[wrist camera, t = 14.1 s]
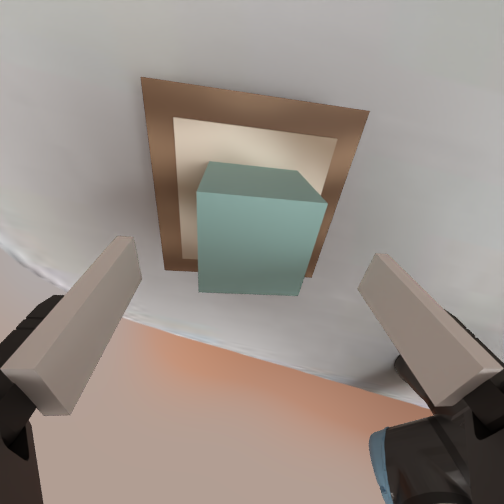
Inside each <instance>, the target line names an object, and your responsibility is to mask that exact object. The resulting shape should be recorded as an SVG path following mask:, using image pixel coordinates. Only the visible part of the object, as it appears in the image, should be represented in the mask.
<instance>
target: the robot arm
mask: <svg viewBox="0 0 504 504" xmlns="http://www.w3.org/2000/svg"><path fill="white" fill-rule="evenodd" d="M141 280H142V277H141V272H140V267H139V262H138V257H137V252H136V247H135V242H134V237H124V236H117V237H116V238H115V239H114V240H113V241H112V243H111V244H110V245H109V246H108V247H107V248H106V249H105V250H104V252H103V253H102V254H101V255H100V256H99V257H98V258H97V260H96V261H95V262H94V263H93V264H92V265H91V266H90V267H89V269H88V270H87V271H86V272H85V273H84V274H83V275H82V277H81V278H80V279H79V280H78V281H77V282H76V283H75V284H74V286H73V287H72V288H71V289H70V290H69V291H68V292H67V294H66V295H53V296H52V297H50V298H48V299H47V300H45V301H44V302H42V303H40V304H39V305H38V306H37V307H36V308H35V309H34V310H33V311H32V312H31V313H30V314H29V315H28V316H27V317H26V319H25V320H23V321H22V322H21V323H20V324H19V325H18V326H17V327H16V330H13V331H12V332H11V333H10V334H9V335H8V336H7V337H6V339H4V340H3V342H1V344H0V504H43V498H42V492H41V485H40V479H39V472H38V465H37V459H36V452H35V446H34V440H33V433H32V426H31V424H30V422H29V418H30V417H31V415H32V414H33V412H34V411H35V409H36V408H37V409H38V410H39V411H40V412H41V413H42V414H43V415H44V416H59V415H60V416H61V415H70V414H71V413H72V411H73V409H74V407H75V405H76V403H77V401H78V399H79V398H80V396H81V394H82V392H83V390H84V388H85V386H86V384H87V383H88V381H89V379H90V377H91V375H92V373H93V371H94V369H95V367H96V365H97V364H98V362H99V360H100V358H101V356H102V354H103V352H104V350H105V348H106V346H107V344H108V343H109V341H110V339H111V337H112V335H113V333H114V331H115V329H116V327H117V325H118V324H119V321H120V320H121V318H122V316H123V314H124V312H125V310H126V308H127V307H128V305H129V303H130V301H131V299H132V297H133V295H134V293H135V291H136V289H137V288H138V286H139V284H140V282H141ZM357 289H358V291H359V292H360V294H361V295H362V297H363V298H364V300H365V301H366V303H367V304H368V306H369V307H370V309H371V310H372V312H373V313H374V315H375V316H376V318H377V319H378V321H379V322H380V324H381V325H382V327H383V328H384V330H385V332H386V333H387V335H388V336H389V338H390V339H391V341H392V342H393V344H394V345H395V347H396V348H397V350H398V351H399V353H400V354H401V355H400V356H399V357H398V359H397V360H396V362H395V369H396V370H397V372H398V374H399V375H400V377H401V378H402V379H403V380H404V381H405V382H406V383H408V384H409V385H410V386H411V388H412V389H413V390H414V391H415V392H416V393H417V394H418V395H419V396H420V397H421V398H422V399H423V400H424V401H425V402H426V404H427V405H428V407H429V408H430V410H431V411H432V413H433V415H434V416H430V417H427V418H423V419H419V420H415V421H412V422H408V423H404V424H400V425H397V426H393V427H386V428H385V429H383V430H380V431H377V432H374V433H373V434H372V435H371V436H370V439H369V451H370V457H371V461H372V466H373V469H374V473H375V476H376V479H377V482H378V484H379V486H380V490H381V493H382V496H383V499H384V501H385V503H386V504H504V363H503V362H502V361H501V360H500V359H499V358H497V357H496V356H495V355H494V354H493V353H492V352H491V351H490V350H489V349H488V348H487V347H486V346H485V345H484V344H483V343H482V342H481V341H480V340H479V339H478V338H475V335H474V334H473V333H472V332H471V331H470V330H469V329H466V327H465V326H464V325H463V324H462V323H461V322H460V321H459V320H458V319H457V318H456V317H455V316H453V315H452V314H450V313H449V312H448V311H446V310H445V309H443V308H442V307H441V306H440V305H439V304H438V303H437V302H436V301H435V300H434V299H433V298H432V297H431V296H430V295H429V294H428V293H427V292H426V291H425V290H424V289H423V288H422V287H421V286H420V285H419V284H418V283H417V282H416V281H415V280H414V279H413V278H412V277H411V276H410V275H409V274H408V273H406V272H405V271H404V270H403V269H402V268H401V267H400V266H399V265H398V264H397V263H396V262H395V261H394V260H393V259H392V258H391V257H390V256H389V255H388V254H378V253H376V254H375V255H374V257H373V259H372V261H371V263H370V265H369V267H368V269H367V271H366V273H365V275H364V277H363V279H362V281H361V283H360V285H359V287H358V288H357Z"/></svg>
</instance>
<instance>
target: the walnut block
mask: <svg viewBox="0 0 504 504" xmlns="http://www.w3.org/2000/svg"><path fill="white" fill-rule="evenodd" d="M141 84H142V92H143V100H144V108H145V116H146V124H147V132H148V140H149V148H150V156H151V164H152V172H153V180H154V188H155V196H156V204H157V212H158V220H159V228H160V236H161V244H162V252H163V260H164V268H165V270H171V271H191V272H198V240H197V194H196V191H197V189H198V187H199V184H200V182H201V180H202V177H203V175H204V173H205V170H206V168H207V165H208V163H209V161H212V162H222V163H231V164H240V165H250V166H259V167H268V168H277V169H287V170H296V171H298V172H299V173H300V174H301V175H302V176H303V177H304V178H305V179H306V180H307V181H308V183H309V184H310V185H311V186H312V187H313V188H314V189H315V190H316V191H317V192H318V193H319V194H320V195H321V197H322V198H323V199H324V200H325V201H326V202H327V203H328V205H327V208H326V211H325V214H324V217H323V220H322V224H321V227H320V230H319V233H318V236H317V239H316V242H315V245H314V248H313V252H312V255H311V258H310V261H309V264H308V267H307V270H306V273H305V276H304V277H311V278H312V275H313V272H314V269H315V266H316V263H317V261H318V258H319V255H320V252H321V249H322V246H323V243H324V241H325V238H326V235H327V232H328V229H329V226H330V223H331V221H332V218H333V215H334V212H335V209H336V206H337V203H338V201H339V198H340V195H341V192H342V189H343V186H344V183H345V181H346V178H347V175H348V172H349V169H350V166H351V163H352V160H353V158H354V155H355V152H356V149H357V146H358V143H359V140H360V138H361V135H362V132H363V129H364V126H365V123H366V120H367V118H368V115H369V112H370V111H365V110H358V109H352V108H345V107H339V106H332V105H325V104H319V103H312V102H305V101H299V100H292V99H285V98H279V97H272V96H265V95H259V94H252V93H245V92H239V91H232V90H225V89H219V88H212V87H205V86H199V85H192V84H185V83H179V82H172V81H166V80H159V79H152V78H146V77H141Z"/></svg>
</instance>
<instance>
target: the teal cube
mask: <svg viewBox="0 0 504 504" xmlns="http://www.w3.org/2000/svg"><path fill="white" fill-rule="evenodd" d="M196 194H197V240H198V285H199V292H205V293H232V294H259V295H286V296H298V295H299V292H300V289H301V286H302V283H303V279H304V276H305V273H306V270H307V267H308V264H309V261H310V258H311V255H312V252H313V248H314V245H315V242H316V239H317V236H318V233H319V230H320V227H321V224H322V220H323V217H324V214H325V211H326V208H327V205H328V203H327V202H326V201H325V200H324V199H323V198H322V197H321V195H320V194H319V193H318V192H317V191H316V190H315V189H314V188H313V187H312V186H311V185H310V184H309V183H308V181H307V180H306V179H305V178H304V177H303V176H302V175H301V174H300V173H299V172H298V171H296V170H287V169H277V168H268V167H259V166H250V165H240V164H231V163H222V162H212V161H209V163H208V165H207V168H206V170H205V173H204V175H203V177H202V180H201V182H200V184H199V187H198V189H197V191H196Z"/></svg>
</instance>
